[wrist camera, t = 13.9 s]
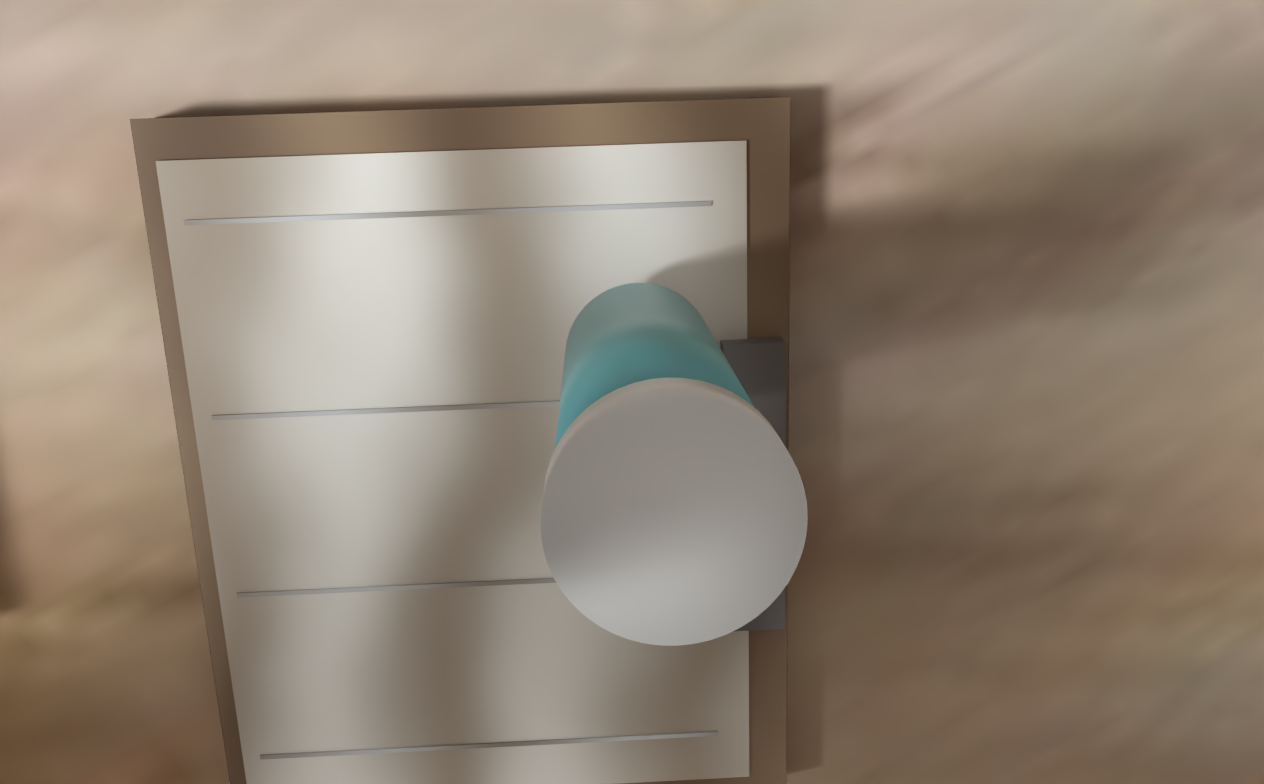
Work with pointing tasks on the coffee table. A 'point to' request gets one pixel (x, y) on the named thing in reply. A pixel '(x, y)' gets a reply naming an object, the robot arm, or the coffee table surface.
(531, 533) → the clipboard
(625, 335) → the cylinder
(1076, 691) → the coffee table surface
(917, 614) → the coffee table surface
